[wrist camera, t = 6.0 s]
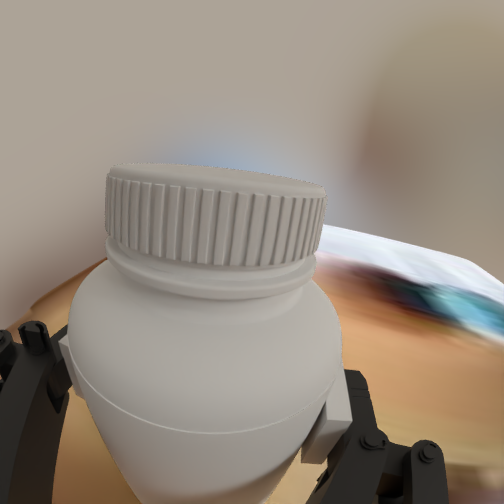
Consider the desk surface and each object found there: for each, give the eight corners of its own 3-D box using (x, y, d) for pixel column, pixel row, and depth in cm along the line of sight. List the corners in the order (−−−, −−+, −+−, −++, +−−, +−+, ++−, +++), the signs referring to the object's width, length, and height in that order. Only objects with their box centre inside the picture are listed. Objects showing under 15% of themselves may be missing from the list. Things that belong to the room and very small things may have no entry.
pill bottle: (123, 423, 13) (96, 156, 9) (245, 415, 16) (294, 175, 11) (136, 536, 6) (-40, 185, 2) (292, 514, 9) (466, 229, 4)
